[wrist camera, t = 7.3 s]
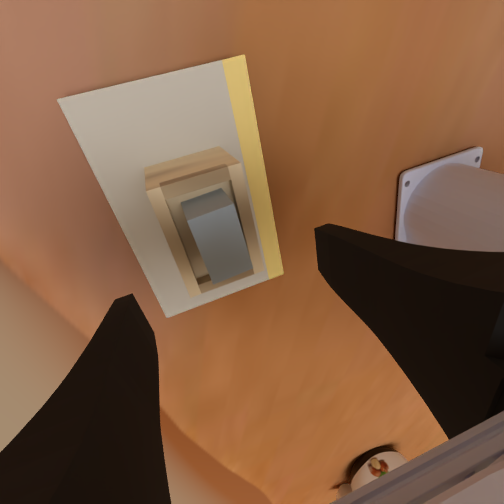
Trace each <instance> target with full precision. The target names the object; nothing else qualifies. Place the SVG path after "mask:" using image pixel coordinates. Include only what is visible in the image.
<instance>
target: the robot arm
mask: <svg viewBox="0 0 504 504" xmlns="http://www.w3.org/2000/svg"><path fill="white" fill-rule="evenodd" d="M482 154H483V148H482V147H478V146H477V147H473V148H470V149H468V150H465V151H462V152H459V153H456V154H453V155H450V156H447V157H444V158H441V159H438V160H435V161H432V162H429V163H427V164H424V165H421V166H418V167H415V168H412V169H409V170H406V171H404V172H403V173H402V174H401V175H400V179H399V192H398V205H397V219H396V232H395V240H392V239H387V238H383V237H379V236H375V235H371V234H367V233H364V232H360V231H357V230H353V229H349V228H346V227H342V226H338V225H333V224H325V225H323V226H320V227H317V228H314V230H315V240H316V251H317V261H318V270H319V271H320V273H321V274H322V276H323V277H324V279H325V280H326V281H327V283H328V284H329V285H330V287H331V288H332V289H333V290H334V291H335V292H336V293H337V295H338V296H339V297H340V298H341V299H342V300H343V301H344V302H345V303H346V304H347V305H348V306H349V307H350V308H351V309H352V310H353V311H354V312H355V313H356V314H357V315H358V316H359V317H360V319H361V320H362V321H363V322H364V323H365V324H366V325H367V326H368V327H369V328H370V329H371V330H372V331H373V333H374V334H375V335H376V336H377V337H378V339H379V340H380V341H381V342H382V344H383V345H384V346H385V348H386V349H387V350H388V351H389V353H390V354H391V355H392V357H393V358H394V359H395V361H396V362H397V363H398V365H399V366H400V368H401V369H402V370H403V372H404V373H405V374H406V376H407V377H408V378H409V380H410V381H411V383H412V384H413V386H414V387H415V389H416V390H417V391H418V393H419V394H420V396H421V397H422V399H423V400H424V402H425V403H426V404H427V406H428V407H429V409H430V411H431V412H432V414H433V415H434V417H435V418H436V420H437V421H438V423H439V424H440V426H441V427H442V429H443V431H444V432H445V434H446V435H447V437H448V439H449V440H448V441H446V442H444V443H442V444H441V445H439V446H437V447H435V448H433V449H431V450H429V451H427V452H426V453H424V454H422V455H420V456H418V457H416V458H414V459H412V460H411V461H409V462H407V463H405V464H403V465H401V466H399V467H397V468H396V469H394V470H392V471H390V472H388V473H386V474H384V475H382V476H381V477H379V478H377V479H375V480H373V481H371V482H369V483H367V484H366V485H364V486H362V487H360V488H358V489H356V490H354V491H353V492H351V493H349V494H347V495H345V496H343V497H341V498H339V499H338V500H336V501H334V502H332V503H330V504H504V174H501V173H497V172H493V171H489V170H485V169H481V168H479V167H480V163H481V158H482ZM406 181H407V182H406ZM405 183H406V184H405ZM0 504H171V499H170V493H169V487H168V480H167V473H166V467H165V460H164V452H163V445H162V437H161V428H160V405H159V365H158V353H157V346H156V340H155V335H154V331H153V330H152V328H151V326H150V324H149V323H148V321H147V319H146V317H145V315H144V314H143V312H142V310H141V308H140V306H139V305H138V303H137V301H136V299H135V297H134V296H133V294H129V295H127V296H124V297H121V298H118V299H115V301H114V302H113V304H112V305H111V307H110V309H109V310H108V312H107V314H106V316H105V317H104V319H103V321H102V322H101V324H100V326H99V327H98V329H97V331H96V332H95V334H94V336H93V337H92V339H91V341H90V342H89V344H88V345H87V347H86V348H85V350H84V351H83V353H82V354H81V356H80V357H79V359H78V360H77V362H76V363H75V365H74V366H73V368H72V369H71V371H70V372H69V373H68V375H67V376H66V378H65V379H64V380H63V381H62V383H61V384H60V385H59V387H58V388H57V389H56V390H55V392H54V393H53V394H52V395H51V397H50V398H49V399H48V401H47V402H46V403H45V404H44V405H43V407H42V408H41V409H40V410H39V411H38V412H37V413H36V414H35V416H34V417H33V418H32V419H31V420H30V421H29V422H28V423H27V424H26V426H25V427H24V428H23V429H22V430H21V431H20V432H19V433H18V434H17V435H16V437H15V438H14V439H13V440H12V441H11V442H10V443H9V444H8V445H7V446H6V447H5V448H4V449H3V450H2V451H1V452H0Z"/></svg>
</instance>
